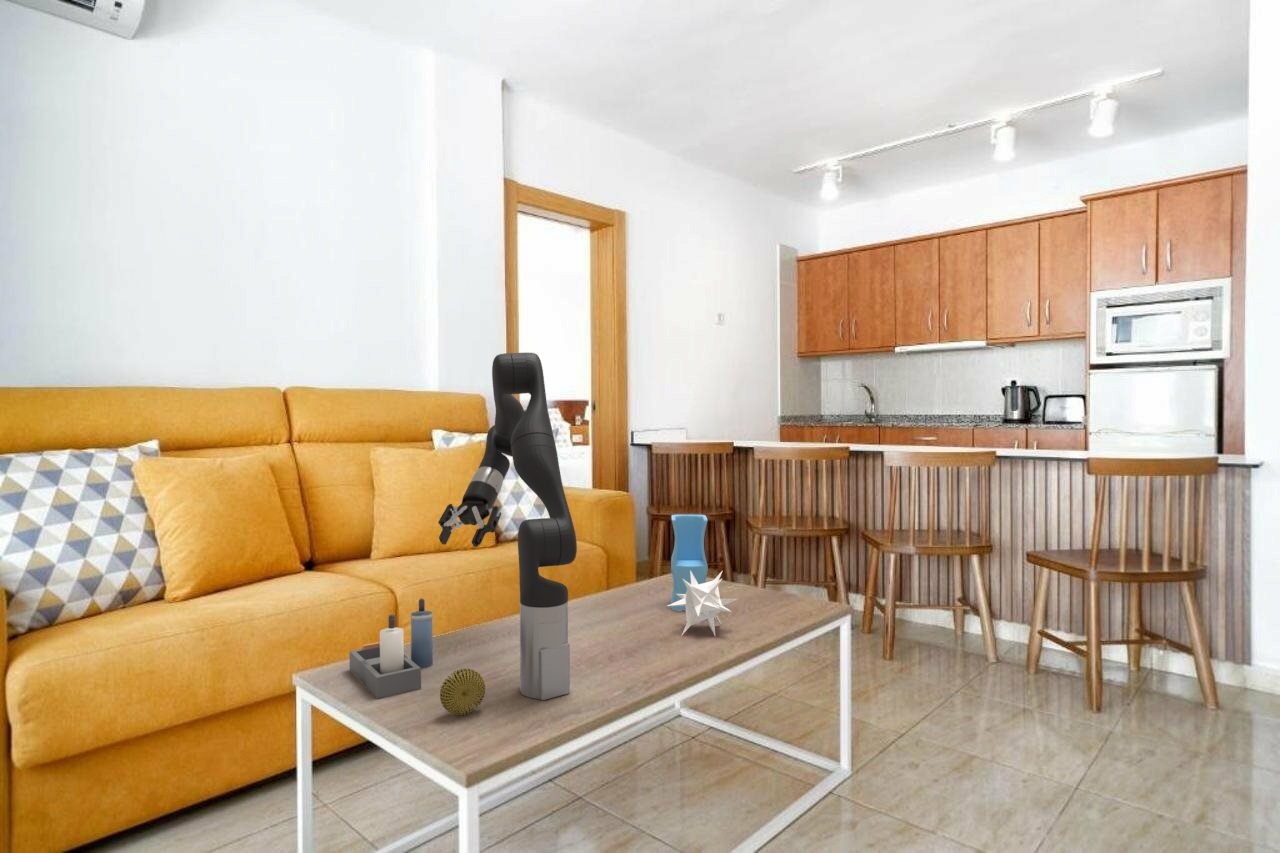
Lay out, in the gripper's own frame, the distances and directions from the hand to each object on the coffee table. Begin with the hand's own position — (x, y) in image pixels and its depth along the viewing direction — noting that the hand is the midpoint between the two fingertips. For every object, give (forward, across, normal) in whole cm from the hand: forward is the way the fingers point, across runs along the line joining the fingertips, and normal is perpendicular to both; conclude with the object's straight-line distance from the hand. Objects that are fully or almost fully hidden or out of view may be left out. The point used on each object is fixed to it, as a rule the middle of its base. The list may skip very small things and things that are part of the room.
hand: (458, 543), depth 164 cm
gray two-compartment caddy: (+33, -2, 0) cm, 33 cm away
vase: (-18, +43, +51) cm, 69 cm away
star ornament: (-3, +52, +36) cm, 63 cm away
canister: (+26, 0, +7) cm, 27 cm away
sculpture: (+40, +22, -7) cm, 46 cm away
